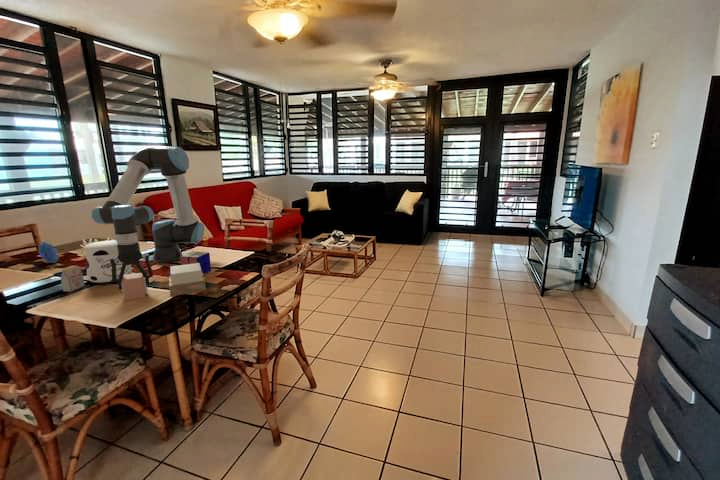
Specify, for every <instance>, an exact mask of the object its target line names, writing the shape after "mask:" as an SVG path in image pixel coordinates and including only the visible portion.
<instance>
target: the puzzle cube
mask: <svg viewBox="0 0 720 480" xmlns="http://www.w3.org/2000/svg"><path fill="white" fill-rule="evenodd" d="M210 255H211V254H210V252H206V251H204V252H203V251H194V250H193V251H190V252H188V253H186V254H182V256H180V261H179V262H180V265H186V264H194V263H199V264H200V267H201V271H202V273H203V275H205V274H207V273H209V272H210V271H211V272H212V267H211V265H212V264H211V256H210Z"/></svg>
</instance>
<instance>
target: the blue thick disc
mask: <svg viewBox="0 0 720 480" xmlns="http://www.w3.org/2000/svg"><path fill="white" fill-rule="evenodd" d="M53 247H54V245H53V244H51V243H48V242H45V241H43V242H41V243H40V244H39V245H38V247H37V248H38V253H39V256H40V257H41V259H42V260H45V262H46V263H48V264H56V263H57V262H58V259H59V255H58V254H57V253H58V250H57V249H56V248H53Z"/></svg>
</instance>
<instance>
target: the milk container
mask: <svg viewBox="0 0 720 480" xmlns="http://www.w3.org/2000/svg"><path fill="white" fill-rule="evenodd" d="M117 245H118V243H116V239H114V240H113V239H112V240H100V241H95V242H90V243H88V244H86V245H85V246H84V252H85V257H86V258H85V259H86V262H87V269H86V276H87V278H88V280H89V281H90V282H91V283H94V284H102V285H103V284H111V283H113V282H112V264H111V262H110V259H111V258H115V257H118V249H117ZM122 265H123V263H122V262H121V261H120V260H117V263H116V278H119V275H120V272H121V269H122ZM127 274H133V273H132V264H131V265H126V268H125V271H124V274H123V276H124V275H127ZM122 279H123V278H122Z"/></svg>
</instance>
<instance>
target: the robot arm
mask: <svg viewBox="0 0 720 480" xmlns="http://www.w3.org/2000/svg"><path fill="white" fill-rule="evenodd" d="M126 167H127V168H126V169H125V171H124V172H123V174H122V175H121V177H120V179H119V181H118V182H117V184H116V186H115V187H114V189H113V190H112V192H110V195H109V196H108V198H107V199H106V202H105V203H104V204H103V206H101V205H100V206H96V207H94V208H93V209H92V211H91V218H92V220H93V222H94V223H96V224H100V225H113V228H114V234H115V235H114V236H115V240H116V243H118V245H117V249H118V257H115V258H111V259H110V262H111V264H112V283H117V284H118V290H119V291H121V290H122V296H123V298H125V295H124V289H123V283H122V278H123V274H124V271H125V268H126V265H131V266H132V265H134V266H136V267H137V268H138V270H139V273H142V275H143V276H144V279H143V282H144V289H145V294H146V295H147V294H148V293H149V291H148V287H149V286H150V278H152V277H153V276H154V273H153V269H152V265H151V262H150V260H149V259H150V254H149V253H145V254H144V253H142V252H141V248H140V242H139V235H138V230H137V229H138V228H137V226H141V225H143V224H148V223H149V222H151V221H152V220H153V219H154V216H155V213H154V211H153V210H152V208H151V207H150V206H146V205H140V206H139V205H138V206H133V205H131V204H129V203H130V201H131V200H132V198H133V196H134V194H135V193H136V191H137V190H138V188H139V186H140V184H141V182H142V181H143V179H144V178H145V176H148V175H149V173H150V172H152V171H160V173H161V176H163V177H164V178H165V179H166V182H167V187H168V190H169V194H170V197H171V201H172V204H173V209H174V212H175V217H176V219H173V218H172V219H165V220H160V221H155V222H153V223H152V224H151V228H152V230H151V232H152V236H153V242H154V243H153V244H154V250H153V251H154V252H153V255H152V262H153V264H157V265H158V264H159V265H165V264H166V265H167V264H173V263H179V262H181V261H180V256H182V255H183V253H182V251H181V248H180V247H179V244H196V243H197V244H198V243H200V242H201V241H202V240H203V238H204V235H205V226H204V223H203V222H201V221H200V222H199V219H198V217H197V216H195V215H194V210H193V206H192V202H191V197H190V194H189V189H188V186H187V180H186V177H185V175H186V174H187V173H188V172H187V170H188V169H190V168H189V167H190V159H189V157H188V153H187V152H186V151H185V150H184V149H183V148H182V147H179V146H169V145H168V146H165V145H164V146H153V145H150V146H146V147H143V148H141V149H140V150H138V151H136V153H134V154H133V155H132V156H131V157H130V158H129V160H128V162H127V163H126ZM141 258H142V259H143V260H144V261H145V265H146V269H147V271H146V270H145V269H144V267H143V265H142V263H141V262H140V260H141ZM117 260H120V261H121V262H122V263H123V265H122V269H121V272H120V275H119V278H116V263H117ZM147 272H148V273H147Z"/></svg>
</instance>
